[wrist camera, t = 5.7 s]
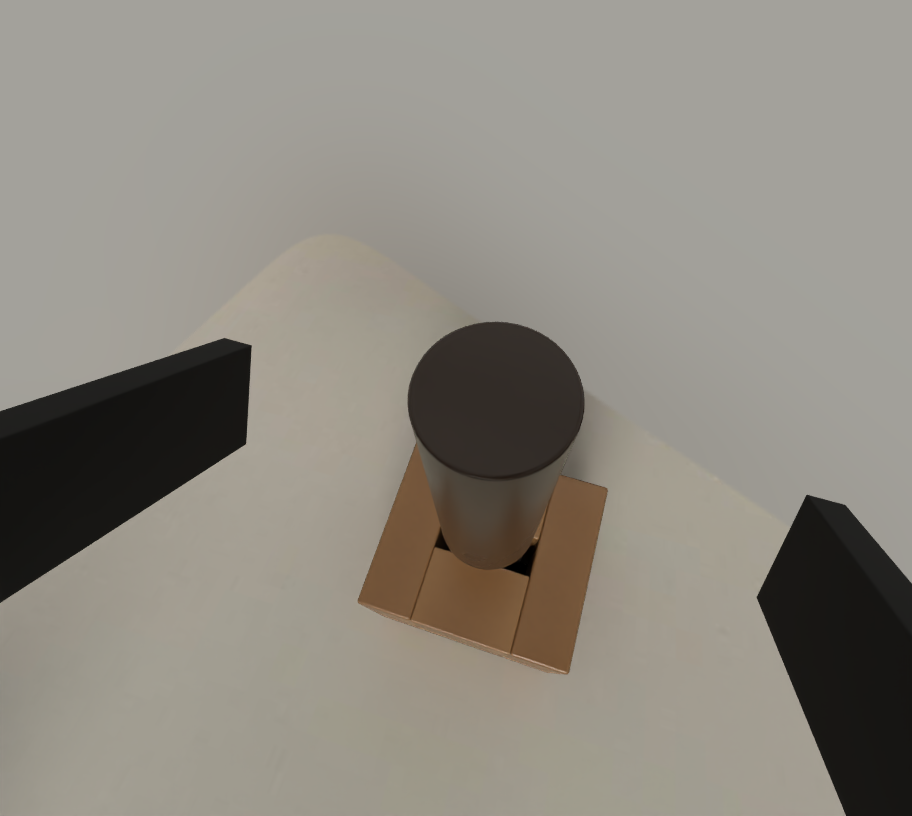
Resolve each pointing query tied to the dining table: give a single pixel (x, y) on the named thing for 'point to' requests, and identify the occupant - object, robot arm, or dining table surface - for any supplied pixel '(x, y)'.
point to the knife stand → (489, 576)
